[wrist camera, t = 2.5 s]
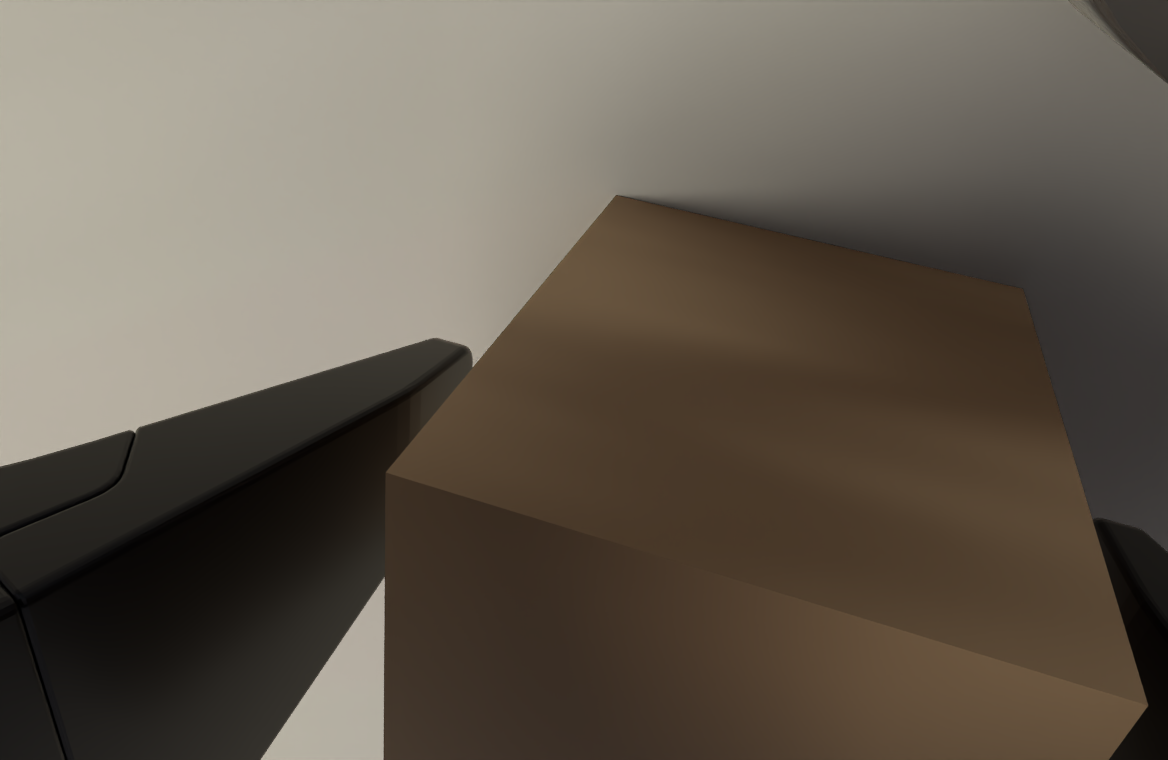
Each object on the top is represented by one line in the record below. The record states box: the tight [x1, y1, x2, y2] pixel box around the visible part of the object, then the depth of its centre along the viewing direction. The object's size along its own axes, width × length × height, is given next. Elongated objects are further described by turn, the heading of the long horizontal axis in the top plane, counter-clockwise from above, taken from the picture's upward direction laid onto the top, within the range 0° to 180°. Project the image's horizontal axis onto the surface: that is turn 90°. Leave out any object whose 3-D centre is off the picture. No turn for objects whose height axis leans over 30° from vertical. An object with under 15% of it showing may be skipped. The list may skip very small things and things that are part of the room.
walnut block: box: [384, 195, 1148, 760], centre depth 8 cm, size 4×4×5 cm
